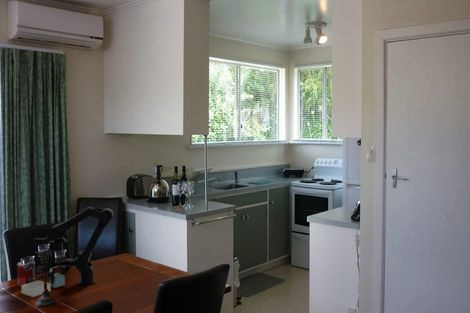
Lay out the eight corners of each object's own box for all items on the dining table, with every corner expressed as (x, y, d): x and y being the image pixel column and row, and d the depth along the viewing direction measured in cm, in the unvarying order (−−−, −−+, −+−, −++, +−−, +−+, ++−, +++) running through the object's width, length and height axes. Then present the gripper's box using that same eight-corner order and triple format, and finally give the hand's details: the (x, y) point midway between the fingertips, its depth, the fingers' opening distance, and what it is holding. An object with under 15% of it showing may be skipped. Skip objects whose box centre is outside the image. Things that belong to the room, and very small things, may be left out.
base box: (50, 292, 216) (50, 283, 216) (33, 297, 209) (32, 289, 208) (39, 288, 221) (39, 280, 221) (21, 293, 214) (21, 285, 213)
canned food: (28, 288, 220) (28, 265, 220) (14, 287, 222) (13, 264, 222) (38, 283, 228) (38, 261, 227) (24, 282, 230) (23, 260, 229)
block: (64, 284, 225) (64, 274, 225) (55, 287, 221) (55, 277, 221) (58, 283, 228) (58, 273, 228) (49, 285, 224) (49, 275, 224)
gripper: (63, 245, 236) (64, 275, 237) (29, 253, 221) (29, 285, 222) (76, 248, 230) (77, 279, 230) (42, 256, 214) (43, 289, 215)
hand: (57, 283), depth 225 cm, fingers closed on block, 5 cm apart
